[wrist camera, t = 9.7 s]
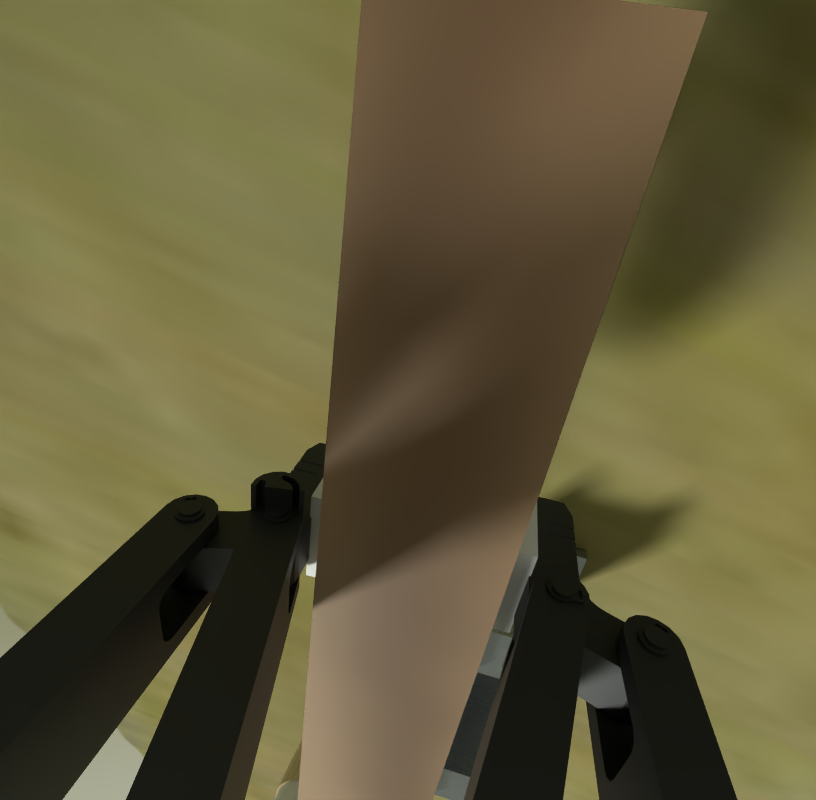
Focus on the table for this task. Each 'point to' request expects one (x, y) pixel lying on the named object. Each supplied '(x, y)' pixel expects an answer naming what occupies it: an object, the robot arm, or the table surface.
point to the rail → (463, 341)
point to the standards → (478, 712)
